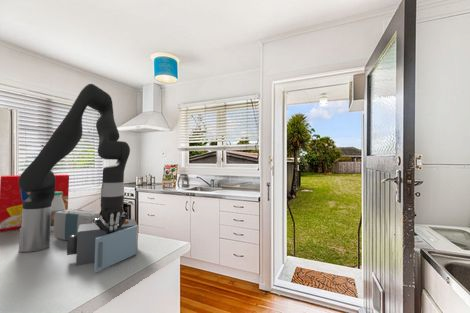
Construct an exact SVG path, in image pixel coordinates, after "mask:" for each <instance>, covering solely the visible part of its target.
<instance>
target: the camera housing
mask: <svg viewBox="0 0 470 313" xmlns="http://www.w3.org/2000/svg"><path fill="white" fill-rule="evenodd" d="M103 224H104V225H105V221H103ZM136 225H138V223H137V221H136V220H135V219H134V218H133V219H126V220H125V222H124V223H123V225H122V227H121V228H118V229H117V230H116V232H117V231H120V230H123V229H127V228H130V227H133V226H136ZM104 235H106V231H102V230H101V229H100V228H99V227H98V226H97V225H96V224H95V223H91V224H81V225H79V228H78V232H77V235H69V236H68V240H67V243H66V256H73V255H76V259H75V266H80V265H86V264H91V263H95V239H96V238H98V237H101V236H104ZM136 255H137V254H135V255H134V256H136Z"/></svg>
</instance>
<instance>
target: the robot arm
mask: <svg viewBox="0 0 470 313" xmlns="http://www.w3.org/2000/svg"><path fill="white" fill-rule="evenodd" d="M87 107H89V108H91V109H93V110H95V111H97V112H98V113H99V115H100V116H99V117H98V118H97V120H96V122H95V123H96V124H95V126H96V128H95V129H96V131H97V134H98V139H99V140H98V147H97V154H98V157H100V158H101V159H103V160H112V161H113V160H116V162H115V163H114V164H113V165H107V166H104V167H103V168H102V178H101V180H102V183H101V188H100V211H99V212H100V215H99V216H98V217H97V218H95V219H93V222H94V223H95V224H96V225H97V226H98V227H99V228H100V229H101V230H102V231H106V235H107V234H111V233H114V232H116V230H117V229H118V228H121V227H122V225H123V223H124V222H125V220H126V219H127V218H128V217H129V213H128V212H125V211H124V210H125V209H124V208H123V207H124V202H125V199H124V198H125V183H124V182H125V181H124V180H125V169H126V165H127V162H128V159H129V156H130V152H131V147H130V145H129V144H128V143H127V142H126V141H123V140H122V141H121V140H120V133H119V129H118V127H117V124H116V121H115V117H114V116H115V115H114V106H113V100H112V97H111V95H110V94H109V93H108V92H106V91H104V90H103V89H102V88H100V87H99V86H97V85H95V84H93V83H89V84H86V85H85V86H84V87H82V88H81V90H80V92H79V93H78V95H77V97H76V98H75V101H74V102H73V104H72V106H71V108H70V109H69V111H68V112H67V114H66V115H65V116H64V118H63V120H61V122H60V124H59V125H58V126H57V127H56V128H55V130H54V132H52V134H51V136H50V138H48V141H47V142H46V143H45V145H44V146H43V148H41V150H40V151H39V153H38V154H37V156H35V158H34V160H32V162H31V163H29V165H28V166H27V167H26V168H25V169H24V170H23V172H22V173H21V174H20V175H21V176H20V178H19V181H18V183H19V187H20V188H21V189H22V190H23V191H26V192H31V194H30V196H29V197H28V198H27V199H26V200H25V201H24V202H23V207H22V208H23V209H22V227H21V228H20V230H19V237H18V240H19V241H18V253H31V252H38V251H42V250H45V249H47V248H49V247H50V245H51V231H50V227H51V204H52V201H53V199H54V194H55V183H56V180H55V175H56V174H55V173H54V172H53V171H52V169H53V168H54V167H55V166H56V164H58V163H59V162H60V161H62V160H63V159H64V158H66V157H67V156H68V155H69V154H70V153H71V152H73V151H74V150H75V148H76V147H77V146H78V144H79V142H80V141H81V139H82V136H83V115H84V113H85V111H86V109H87ZM103 222H105V225H104V224H103Z"/></svg>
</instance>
